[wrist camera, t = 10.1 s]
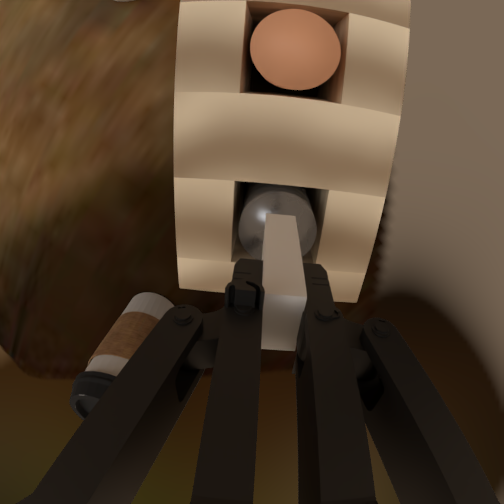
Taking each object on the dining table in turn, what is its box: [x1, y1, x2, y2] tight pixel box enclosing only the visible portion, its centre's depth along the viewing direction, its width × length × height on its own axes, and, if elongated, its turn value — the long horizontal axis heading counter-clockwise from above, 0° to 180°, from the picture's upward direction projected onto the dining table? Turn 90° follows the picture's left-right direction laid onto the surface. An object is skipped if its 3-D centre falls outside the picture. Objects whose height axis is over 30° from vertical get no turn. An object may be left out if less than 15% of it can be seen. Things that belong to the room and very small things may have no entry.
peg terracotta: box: [250, 9, 341, 90], centre depth 17 cm, size 4×4×9 cm
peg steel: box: [238, 182, 317, 260], centre depth 22 cm, size 4×4×9 cm
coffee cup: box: [70, 292, 174, 420], centre depth 28 cm, size 8×8×15 cm
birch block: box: [174, 0, 411, 302], centre depth 20 cm, size 20×12×9 cm, turn 176°
